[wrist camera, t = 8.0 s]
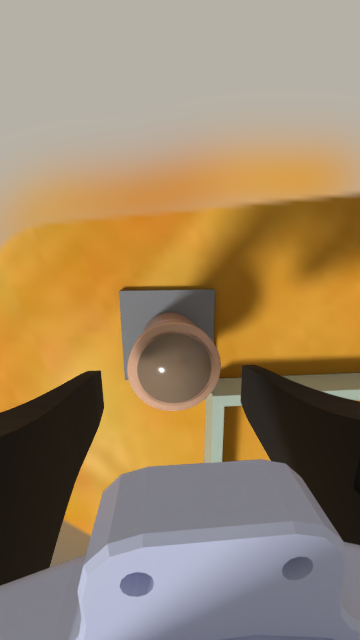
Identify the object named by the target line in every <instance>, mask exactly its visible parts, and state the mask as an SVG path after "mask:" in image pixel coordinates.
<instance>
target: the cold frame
mask: <svg viewBox="0 0 360 640" xmlns="http://www.w3.org/2000/svg"><path fill="white" fill-rule="evenodd" d="M282 377H285V378H287V379H289V380H292V381H294V382H297V383H299V384H302V385H304V386H307V387H310V388H313V389H316V390H319V391H322V392H325V393H328V394H332V395H335V396H339V397H343V398H347V399H351V400H359V401H360V373H340V374H315V375H291V376H282ZM241 383H242V378H219V379H218V382H217V384H216V386H215V388H214V389H213V391H212V392H211V393H210V395H209V396H208V397H207V398H206V410H205V457H204V463H214V462H222V451H223V427H224V407H225V406H242V404H241V401H240V400H241Z"/></svg>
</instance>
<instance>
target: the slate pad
mask: <svg viewBox="0 0 360 640" xmlns="http://www.w3.org/2000/svg"><path fill="white" fill-rule="evenodd" d="M119 296H120V311H121V326H122V341H123V356H124V371H125V380H129V379H128V373H127V365H128V359H129V356H130V353H131V350H132V347H133V345H134V343H135V342H136V340H137V339H138V337H139V336H140V335H141V334H142V333H143V330H144V328H145V326H146V324H147V323H148V322H149V321H150V320H151V319H152V318H153V317H155V316H156V315H159V314H161V313H165V312H176V313H180V314H183V315H185V316H186V317H188V318H189V319H190V320H191V321H192V322H193V323H194V325H195V326H197V327H199V328H200V329H202V330H203V331H204V332H205V333H206V334H207V335H208V336H209V338H210V339H211V340H212V342H213V343H214V308H215V290H214V289H191V290H120V291H119Z"/></svg>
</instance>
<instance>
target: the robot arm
mask: <svg viewBox="0 0 360 640" xmlns="http://www.w3.org/2000/svg"><path fill="white" fill-rule="evenodd" d="M240 401H241V404H242V407H243V409H244V412H245V414H246V417H247V419H248V421H249V423H250V424H251V426H252V428H253V430H254V432H255V433H256V435H257V437H258V439H259V440H260V442H261V444H262V446H263V447H264V449H265V451H266V453H267V454H268V456H269V458H270V460H271V461H267V460H245V461H229V462H214V463H199V464H183V465H168V466H153V467H146V468H142V469H139V470H136V471H132V472H129V473H125V474H122V475H120V476H119V477H118V478H117V479H116V480H115V481H114V482H113V483H112V484H111V485H110V486H109V487H108V488H107V489H106V490H104V491H103V494H102V498H101V502H100V505H99V509H98V513H97V516H96V520H95V524H94V528H93V531H92V535H91V539H90V542H89V546H88V550H87V554H86V555H83V556H80V557H78V558H75V559H72V560H69V561H67V562H64V563H61V564H58V565H56V566H53V567H50V563H51V560H52V556H53V553H54V549H55V546H56V542H57V538H58V535H59V532H60V528H61V525H62V522H63V519H64V515H65V512H66V509H67V505H68V502H69V499H70V496H71V493H72V490H73V487H74V484H75V481H76V478H77V476H78V473H79V471H80V468H81V466H82V464H83V461H84V459H85V457H86V455H87V452H88V450H89V448H90V445H91V443H92V441H93V439H94V436H95V434H96V432H97V429H98V427H99V424H100V421H101V417H102V413H103V410H104V401H103V390H102V380H101V371H87V372H85V373H82V374H80V375H79V376H77V377H75V378H73V379H71V380H70V381H68V382H66V383H64V384H62V385H61V386H59V387H57V388H55V389H53V390H51V391H49V392H47V393H45V394H43V395H41V396H39V397H37V398H35V399H33V400H31V401H29V402H27V403H24V404H22V405H19V406H17V407H15V408H12V409H10V410H7V411H4V412H1V413H0V640H360V401H355V400H351V399H347V398H343V397H339V396H335V395H332V394H328V393H325V392H322V391H319V390H316V389H313V388H310V387H307V386H304V385H302V384H299V383H297V382H294V381H292V380H289V379H287V378H285V377H282V376H280V375H278V374H276V373H273V372H271V371H269V370H267V369H264V368H262V367H259V366H256V365H243V366H242V383H241V400H240ZM49 567H50V568H49Z"/></svg>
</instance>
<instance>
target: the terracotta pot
mask: <svg viewBox="0 0 360 640" xmlns="http://www.w3.org/2000/svg"><path fill="white" fill-rule="evenodd" d="M220 370H221V363H220V357H219V353H218V351H217V348H216V347H215V345H214V343H213V342H212V340H211V339H210V338H209V336H208V335H207V334H206V333H205V332H204V331H203V330H202V329H200V328H199V327H197V326H195V325H194V323H193V322H192V321H191V320H190V319H189V318H188V317H186V316H185V315H183V314H180V313H176V312H165V313H161V314H159V315H156V316H155V317H153V318H152V319H151V320H150V321H149V322H148V323H147V324H146V326H145V328H144V330H143V333H142V334H141V335H140V336H139V337H138V339H137V340H136V342H135V343H134V345H133V347H132V350H131V353H130V356H129V359H128V365H127V373H128V379H129V382H130V385H131V387H132V389H133V390H134V392H135V393H136V395H137V396H138V397H139V398H140V399H141V400H142V401H144V402H145V403H146V404H148V405H150V406H152V407H154V408H157V409H160V410H166V411H179V410H184V409H188V408H191V407H193V406H195V405H197V404H199V403H200V402H202V401H203V400H204V399H206V398H207V397H208V396H209V395H210V393H211V392H212V391H213V389H214V388H215V386H216V384H217V382H218V379H219V376H220Z"/></svg>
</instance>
